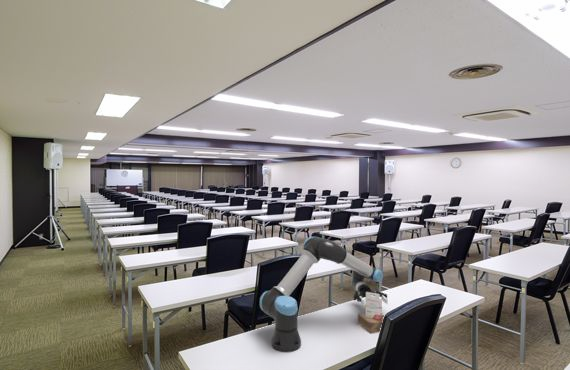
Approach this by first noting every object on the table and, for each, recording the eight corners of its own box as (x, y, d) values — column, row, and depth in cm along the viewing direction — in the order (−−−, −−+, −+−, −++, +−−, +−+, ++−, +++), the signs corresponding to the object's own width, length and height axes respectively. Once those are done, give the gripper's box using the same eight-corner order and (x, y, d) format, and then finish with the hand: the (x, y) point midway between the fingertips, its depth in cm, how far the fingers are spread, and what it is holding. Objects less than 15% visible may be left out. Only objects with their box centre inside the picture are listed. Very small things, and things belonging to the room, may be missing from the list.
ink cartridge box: (382, 317, 186) (382, 291, 185) (380, 320, 181) (380, 294, 181) (367, 313, 190) (367, 289, 190) (365, 317, 186) (365, 291, 185)
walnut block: (370, 334, 178) (370, 323, 178) (357, 324, 190) (357, 314, 190) (390, 330, 182) (390, 320, 182) (376, 321, 194) (376, 311, 194)
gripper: (382, 294, 205) (396, 307, 183) (344, 296, 203) (353, 309, 181) (382, 283, 205) (396, 294, 183) (343, 284, 202) (353, 296, 181)
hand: (375, 302), depth 182 cm, fingers open, 13 cm apart
